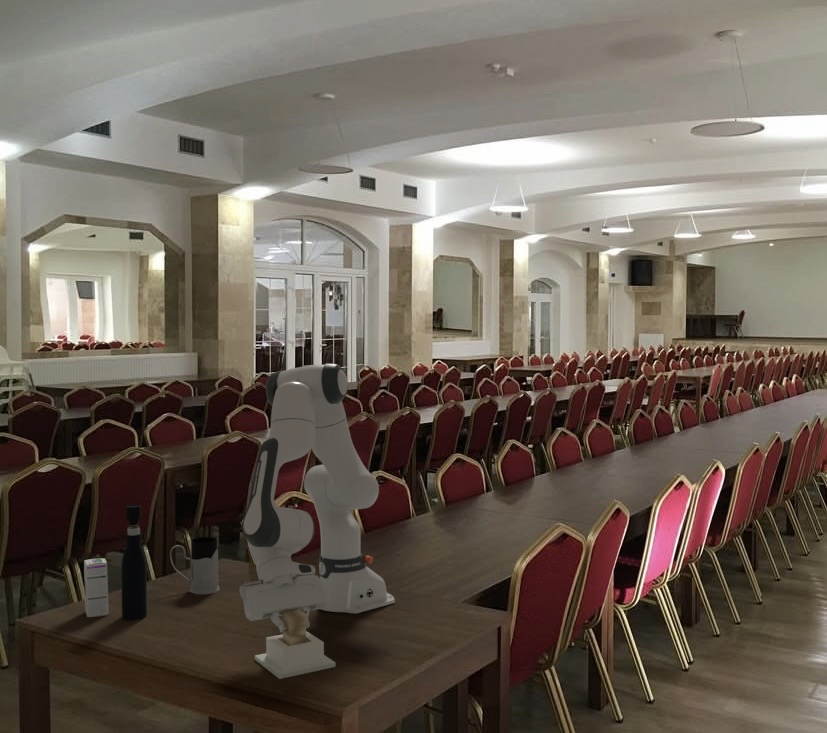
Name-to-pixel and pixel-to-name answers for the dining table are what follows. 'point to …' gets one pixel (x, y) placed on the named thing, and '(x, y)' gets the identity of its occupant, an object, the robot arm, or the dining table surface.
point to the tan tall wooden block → (294, 627)
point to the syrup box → (96, 587)
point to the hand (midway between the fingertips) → (295, 629)
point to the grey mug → (202, 565)
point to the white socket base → (294, 657)
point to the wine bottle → (134, 570)
